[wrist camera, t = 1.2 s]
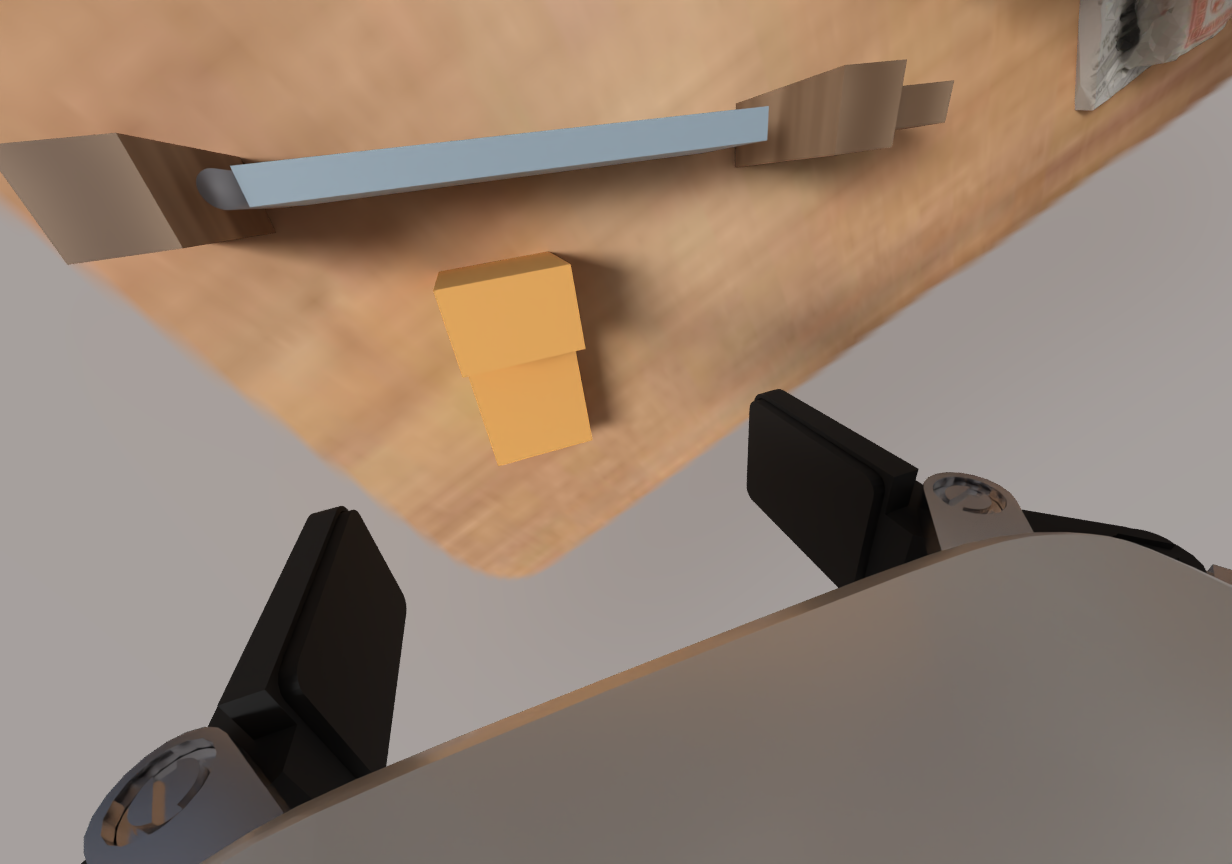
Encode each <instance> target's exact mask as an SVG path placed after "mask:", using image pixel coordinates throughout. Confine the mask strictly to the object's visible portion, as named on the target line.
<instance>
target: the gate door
mask: <svg viewBox="0 0 1232 864" xmlns="http://www.w3.org/2000/svg"><path fill="white" fill-rule="evenodd" d="M768 114H769V106H765V107H756V108H747V109H738V110H729V111H720V112H711V113H702V114H693V115H684V116H675V117H666V118H657V119H648V120H639V121H630V122H621V123H612V124H603V125H594V126H585V127H576V128H567V129H558V130H549V131H540V132H531V133H522V134H513V135H504V136H495V137H486V138H477V139H468V140H459V141H450V142H441V143H432V144H423V145H414V146H405V147H396V148H387V149H378V150H369V151H360V152H351V153H342V154H333V155H324V156H315V157H306V158H297V159H288V160H278V161H269V162H260V163H251V164H242V165H233V166H230V167H231V169H232V171H231V170H223V169H216V168H207V169H204V170H202V171H201V172H200V173H199V174H198V175H197V178H196V186H197V189H198V191H199V193H200V195H201V196H202V197H203V199H204V200H205V201H207V202H208V203H209V204H211V205H212V206H214V207H216V208H219V209H223V210H239V209H264V208H288V207H293V206H304V205H312V204H319V203H327V202H335V201H342V200H350V199H357V198H365V197H373V196H380V195H388V194H395V193H403V192H411V191H418V190H426V189H433V188H441V187H449V186H456V185H464V184H471V183H479V182H486V181H494V180H502V179H509V178H517V177H524V176H532V175H540V174H547V173H555V172H562V171H570V170H578V169H585V168H593V167H600V166H608V165H616V164H623V163H631V162H638V161H646V160H654V159H661V158H669V157H676V156H684V155H692V154H699V153H705V152H710V151H715V150H720V149H726V148H731V147H736V146H741V145H746V144H751V143H756V142H761V141H766V140H767V135H768Z"/></svg>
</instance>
